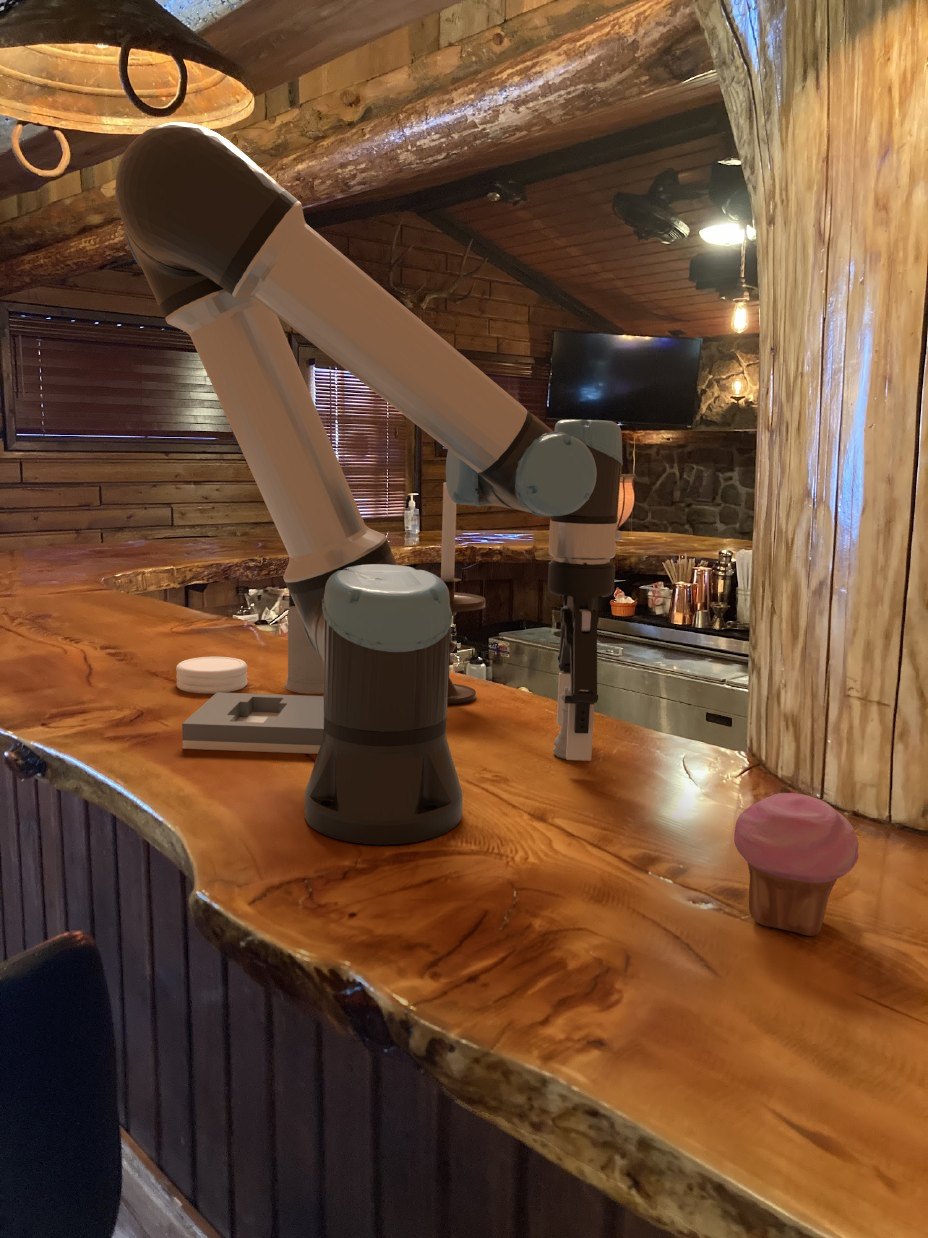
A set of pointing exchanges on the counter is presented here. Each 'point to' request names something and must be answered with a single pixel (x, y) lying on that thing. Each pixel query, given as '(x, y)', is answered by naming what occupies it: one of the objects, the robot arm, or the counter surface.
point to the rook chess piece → (563, 729)
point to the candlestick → (457, 600)
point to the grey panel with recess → (257, 723)
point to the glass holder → (302, 658)
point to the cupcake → (794, 859)
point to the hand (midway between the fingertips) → (572, 741)
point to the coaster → (211, 675)
